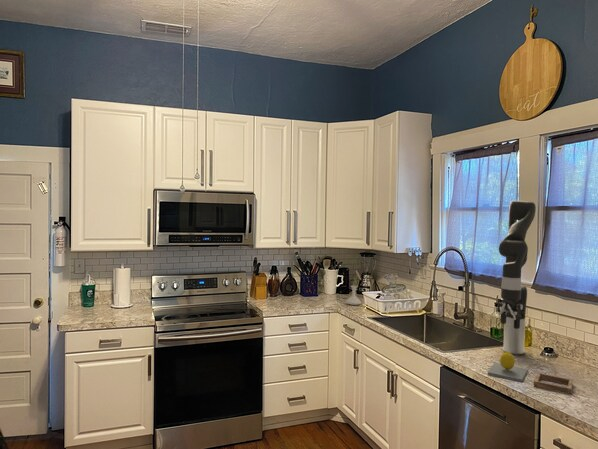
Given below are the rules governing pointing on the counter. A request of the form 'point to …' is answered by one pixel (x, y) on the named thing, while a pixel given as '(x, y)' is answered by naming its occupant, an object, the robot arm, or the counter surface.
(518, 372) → the grey rectangular plate
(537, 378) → the walnut collar
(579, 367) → the counter surface
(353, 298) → the flower in vase
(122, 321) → the counter surface
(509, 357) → the lemon
